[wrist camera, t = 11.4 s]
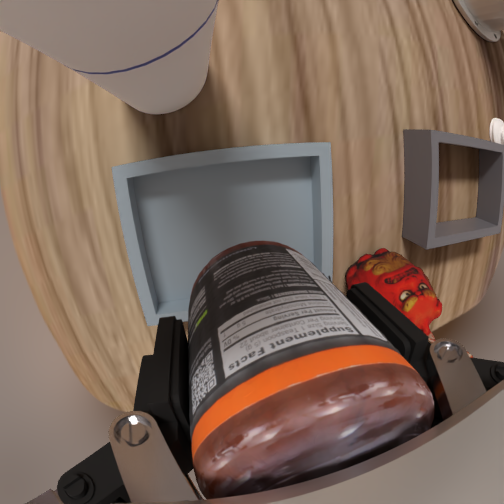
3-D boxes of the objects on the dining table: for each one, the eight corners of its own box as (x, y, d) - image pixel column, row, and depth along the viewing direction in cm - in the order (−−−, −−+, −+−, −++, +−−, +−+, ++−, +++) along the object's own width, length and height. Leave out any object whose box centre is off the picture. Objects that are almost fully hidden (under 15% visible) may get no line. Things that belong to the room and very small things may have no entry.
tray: (317, 142, 22) (330, 142, 20) (320, 283, 27) (331, 296, 25) (120, 165, 20) (111, 167, 18) (151, 310, 25) (147, 326, 22)
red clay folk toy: (397, 235, 27) (511, 301, 13) (400, 291, 29) (490, 367, 16) (334, 262, 26) (439, 359, 12) (344, 318, 29) (424, 419, 15)
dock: (482, 142, 25) (505, 145, 21) (478, 224, 29) (500, 232, 25) (403, 129, 23) (430, 129, 19) (402, 236, 27) (426, 249, 23)
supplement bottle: (309, 342, 14) (418, 531, 4) (194, 354, 13) (221, 590, 3) (323, 232, 12) (547, 420, 2) (183, 238, 11) (176, 594, 1)
